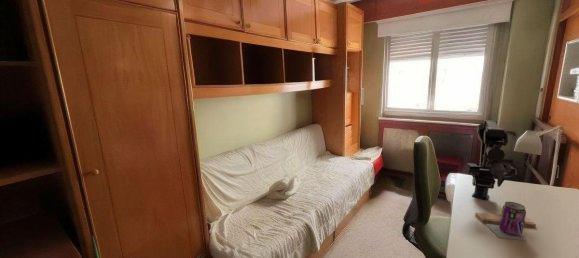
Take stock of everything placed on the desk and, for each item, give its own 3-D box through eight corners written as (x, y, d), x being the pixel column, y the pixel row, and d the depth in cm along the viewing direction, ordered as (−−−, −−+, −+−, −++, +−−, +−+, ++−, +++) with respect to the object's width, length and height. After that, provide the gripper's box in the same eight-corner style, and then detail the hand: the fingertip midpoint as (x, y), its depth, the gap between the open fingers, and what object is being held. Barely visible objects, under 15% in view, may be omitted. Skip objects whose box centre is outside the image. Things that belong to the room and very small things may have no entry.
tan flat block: (525, 219, 111) (525, 216, 110) (535, 227, 105) (536, 223, 105) (475, 215, 115) (475, 212, 114) (482, 222, 109) (482, 219, 109)
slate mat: (509, 226, 106) (509, 226, 106) (524, 240, 97) (524, 239, 97) (485, 224, 107) (485, 224, 107) (498, 237, 99) (498, 236, 99)
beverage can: (513, 238, 97) (518, 210, 95) (494, 228, 104) (498, 202, 102) (526, 235, 99) (531, 208, 97) (507, 225, 106) (511, 200, 104)
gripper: (477, 158, 110) (472, 191, 113) (527, 161, 105) (521, 195, 108) (466, 151, 120) (462, 181, 123) (511, 153, 116) (506, 184, 119)
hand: (487, 185), depth 118 cm, fingers open, 9 cm apart
